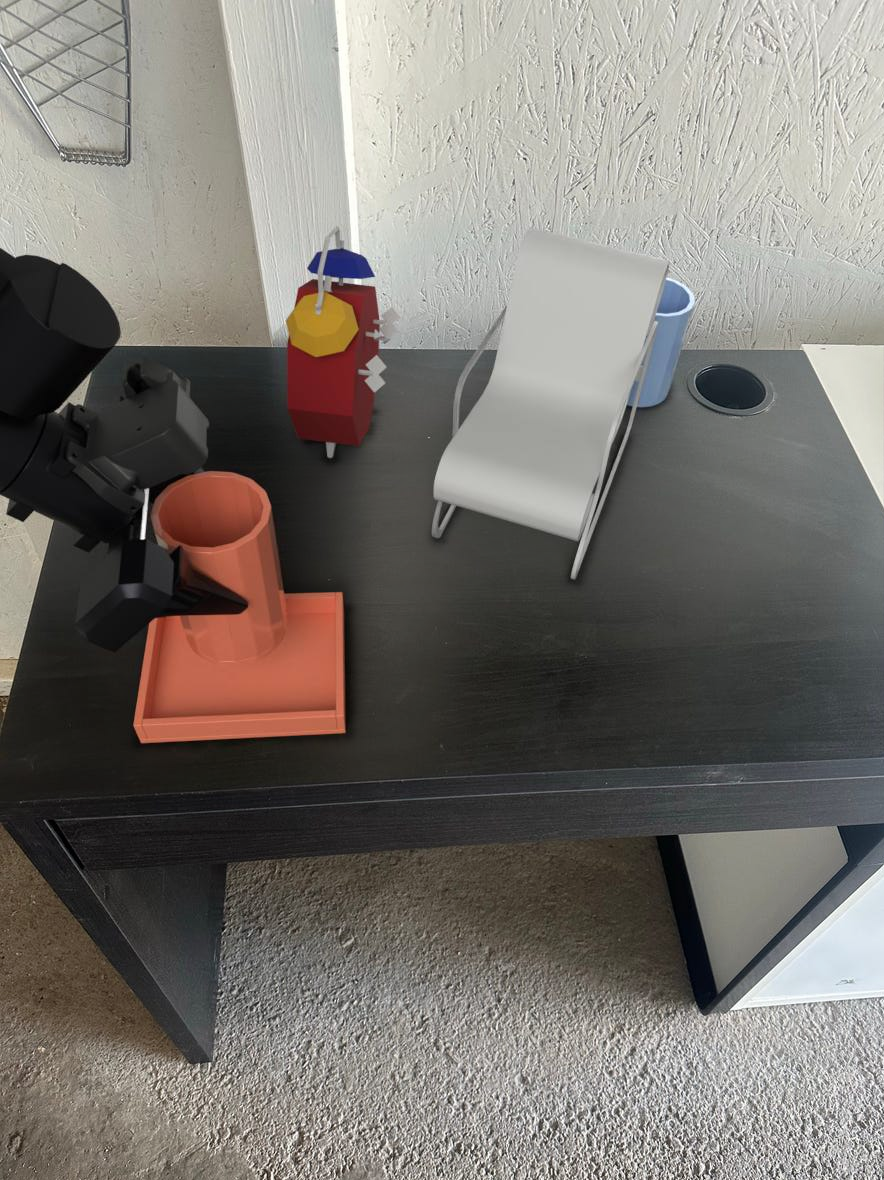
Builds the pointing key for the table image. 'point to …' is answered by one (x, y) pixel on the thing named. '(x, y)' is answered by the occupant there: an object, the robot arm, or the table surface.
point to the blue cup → (665, 344)
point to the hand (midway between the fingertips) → (243, 565)
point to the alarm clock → (335, 349)
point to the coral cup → (227, 561)
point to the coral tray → (247, 681)
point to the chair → (554, 388)
